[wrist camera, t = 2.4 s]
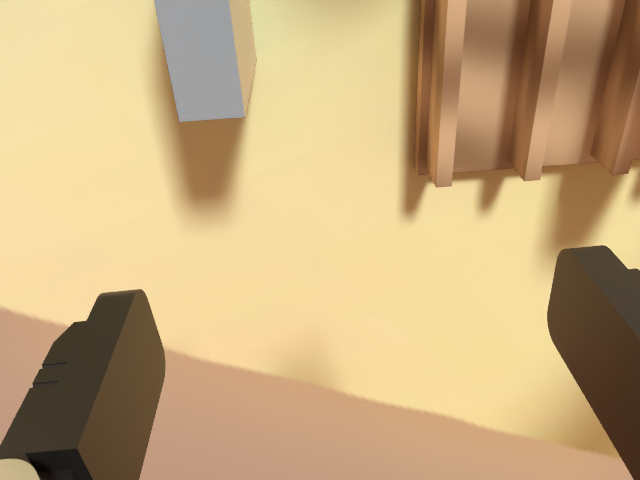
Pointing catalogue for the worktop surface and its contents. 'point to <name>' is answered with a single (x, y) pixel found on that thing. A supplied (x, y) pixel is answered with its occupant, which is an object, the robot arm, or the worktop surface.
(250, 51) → the slate grey rectangular block
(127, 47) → the worktop surface
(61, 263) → the worktop surface
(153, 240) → the worktop surface
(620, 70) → the dish rack
